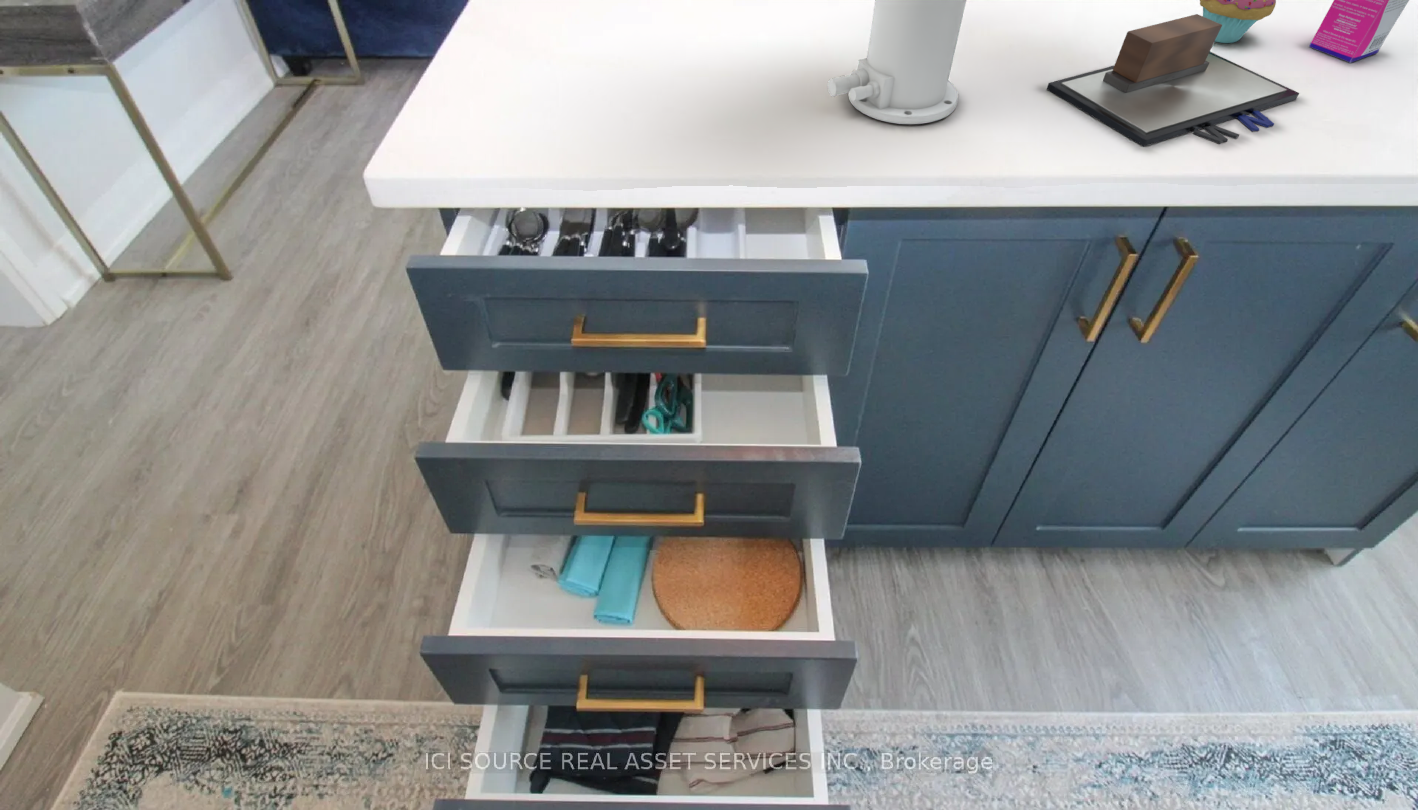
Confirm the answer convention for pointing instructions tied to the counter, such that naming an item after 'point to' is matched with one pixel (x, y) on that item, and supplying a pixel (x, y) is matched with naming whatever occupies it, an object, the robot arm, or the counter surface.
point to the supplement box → (1356, 27)
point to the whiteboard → (1173, 100)
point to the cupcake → (1235, 16)
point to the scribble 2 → (1255, 120)
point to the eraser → (1163, 52)
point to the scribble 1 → (1216, 134)
